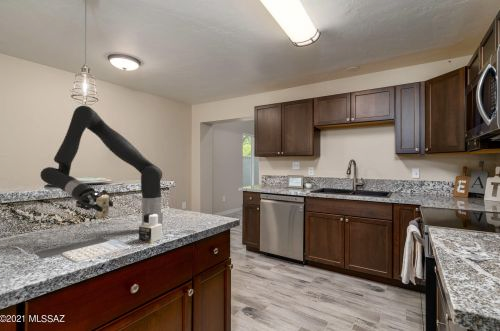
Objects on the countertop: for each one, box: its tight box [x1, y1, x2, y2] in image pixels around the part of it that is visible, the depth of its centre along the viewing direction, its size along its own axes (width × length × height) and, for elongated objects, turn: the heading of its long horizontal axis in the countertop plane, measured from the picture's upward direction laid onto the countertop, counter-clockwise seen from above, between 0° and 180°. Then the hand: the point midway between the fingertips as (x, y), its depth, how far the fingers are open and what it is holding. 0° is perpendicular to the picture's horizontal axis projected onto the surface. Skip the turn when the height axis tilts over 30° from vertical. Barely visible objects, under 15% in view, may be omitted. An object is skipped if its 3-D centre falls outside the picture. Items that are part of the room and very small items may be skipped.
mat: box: [33, 237, 110, 259], centre depth 101 cm, size 24×9×1 cm, turn 146°
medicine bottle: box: [138, 213, 163, 245], centre depth 112 cm, size 7×7×12 cm
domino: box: [95, 194, 110, 219], centre depth 109 cm, size 4×2×10 cm, turn 157°
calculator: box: [61, 239, 130, 263], centre depth 97 cm, size 13×20×2 cm, turn 146°
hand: (107, 207), depth 108 cm, fingers closed on domino, 4 cm apart
